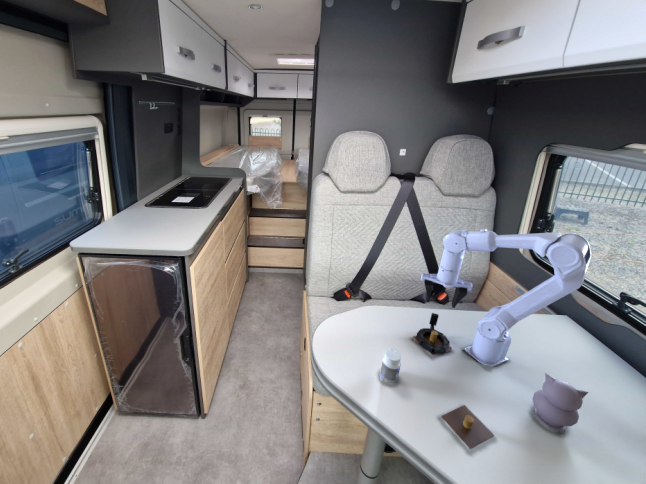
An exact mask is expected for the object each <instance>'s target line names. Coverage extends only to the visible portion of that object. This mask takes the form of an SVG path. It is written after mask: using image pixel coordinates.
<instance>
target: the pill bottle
mask: <svg viewBox="0 0 646 484" xmlns="http://www.w3.org/2000/svg"><path fill="white" fill-rule="evenodd" d="M401 359H402V355H401V353H400V352H399V351H397V350H395V349H392V348H390V349H387V350H386V351H385V353H384V355H383V356H382V360H381V366H380V371H379V379H380V380H381V381H383V380H384V382H385V381H386V382H387V383H396V382H397V381H398V379H399V374H400V371H401V368H402V367H401V366H402V362H401V361H402V360H401Z"/></svg>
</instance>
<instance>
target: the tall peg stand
mask: <svg viewBox="0 0 646 484" xmlns="http://www.w3.org/2000/svg"><path fill="white" fill-rule="evenodd" d="M437 335H438V333H437V332H436V331H432V332H431V336H428V335H424V339H425V341H426V342H428V343H430V344H432V345H440V346H441V345H442V343H441V341H440V340H439V339H437ZM411 340H412V341H413V342H414V343H415V344H416V345H417V346H420V345H419V343H418V341H417V339H416V335H415V336H412V339H411ZM426 351H427V352H428V353H429V354H430V355H431V356H434V355H437V354H438V353H433V351H432V353H431V352H429V351H428V350H426ZM451 351H452V347H451V346H450V345H449V348H448V350H447V351H446V352H445V353H444V354H447V353H450V352H451Z"/></svg>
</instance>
